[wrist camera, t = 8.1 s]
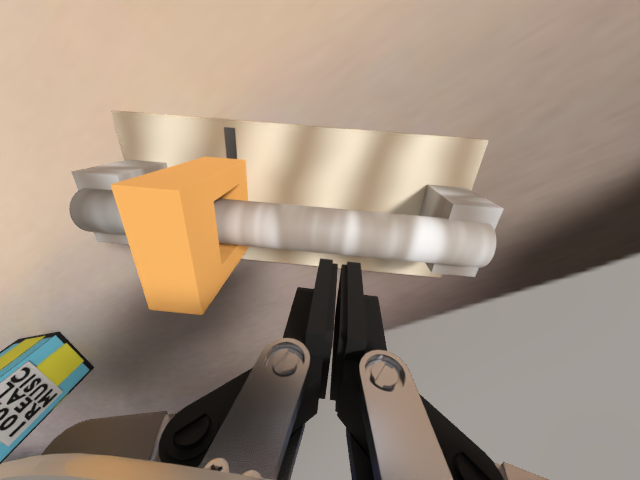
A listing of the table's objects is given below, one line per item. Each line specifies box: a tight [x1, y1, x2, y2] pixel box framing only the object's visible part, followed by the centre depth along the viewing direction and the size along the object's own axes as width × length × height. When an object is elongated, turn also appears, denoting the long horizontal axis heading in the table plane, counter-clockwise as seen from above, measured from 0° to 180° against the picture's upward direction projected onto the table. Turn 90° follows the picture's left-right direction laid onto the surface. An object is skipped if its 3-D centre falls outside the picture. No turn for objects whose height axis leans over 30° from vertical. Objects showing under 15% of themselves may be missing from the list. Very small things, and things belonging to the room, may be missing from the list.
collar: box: [111, 157, 249, 315], centre depth 16 cm, size 3×7×8 cm, turn 176°
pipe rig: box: [70, 111, 503, 278], centre depth 18 cm, size 28×12×8 cm, turn 86°
